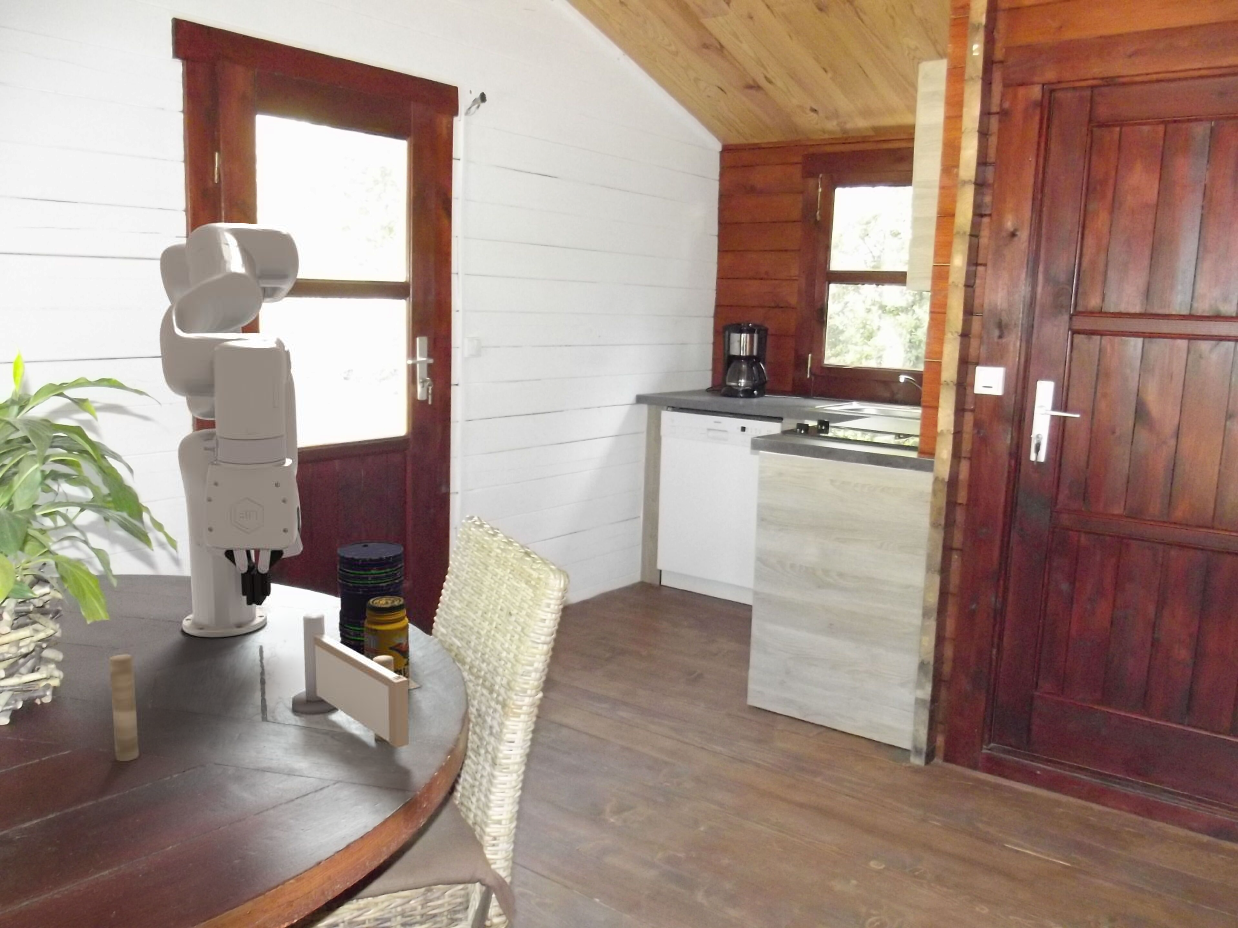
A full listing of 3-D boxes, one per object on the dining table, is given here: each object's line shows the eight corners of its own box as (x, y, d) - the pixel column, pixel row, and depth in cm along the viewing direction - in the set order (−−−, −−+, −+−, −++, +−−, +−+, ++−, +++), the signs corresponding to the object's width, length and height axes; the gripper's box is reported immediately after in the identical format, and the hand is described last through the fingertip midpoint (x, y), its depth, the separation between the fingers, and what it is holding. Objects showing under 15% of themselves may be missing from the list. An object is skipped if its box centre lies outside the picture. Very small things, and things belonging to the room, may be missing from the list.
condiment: (419, 687, 142) (419, 603, 139) (360, 699, 137) (358, 613, 135) (399, 670, 148) (398, 589, 145) (342, 681, 143) (339, 598, 141)
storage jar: (413, 649, 156) (412, 553, 153) (349, 659, 151) (346, 561, 148) (393, 629, 164) (392, 538, 162) (331, 638, 160) (329, 545, 157)
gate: (302, 696, 135) (299, 615, 133) (320, 691, 136) (318, 611, 135) (392, 756, 118) (391, 665, 116) (412, 750, 120) (411, 660, 118)
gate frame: (108, 750, 121) (101, 652, 119) (329, 691, 139) (326, 606, 137) (162, 810, 107) (155, 702, 105) (398, 737, 126) (396, 643, 124)
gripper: (173, 455, 113) (181, 612, 117) (312, 458, 115) (315, 613, 119) (194, 442, 121) (201, 590, 125) (324, 444, 122) (327, 591, 126)
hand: (256, 601), depth 122 cm, fingers closed
